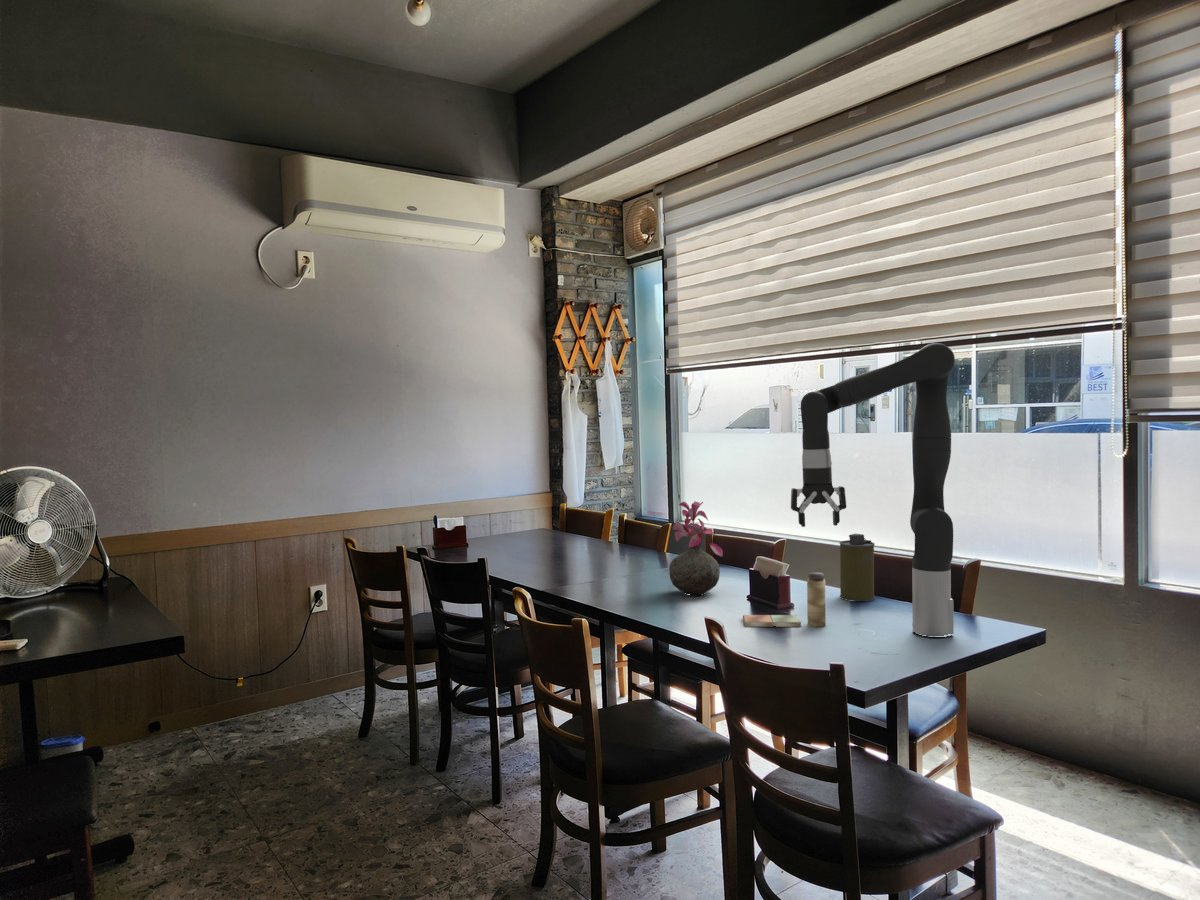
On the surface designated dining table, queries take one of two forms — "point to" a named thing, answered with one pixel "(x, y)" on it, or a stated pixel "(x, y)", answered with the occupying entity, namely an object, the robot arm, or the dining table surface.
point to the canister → (857, 568)
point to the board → (772, 620)
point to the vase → (694, 557)
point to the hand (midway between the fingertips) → (819, 525)
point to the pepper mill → (816, 600)
